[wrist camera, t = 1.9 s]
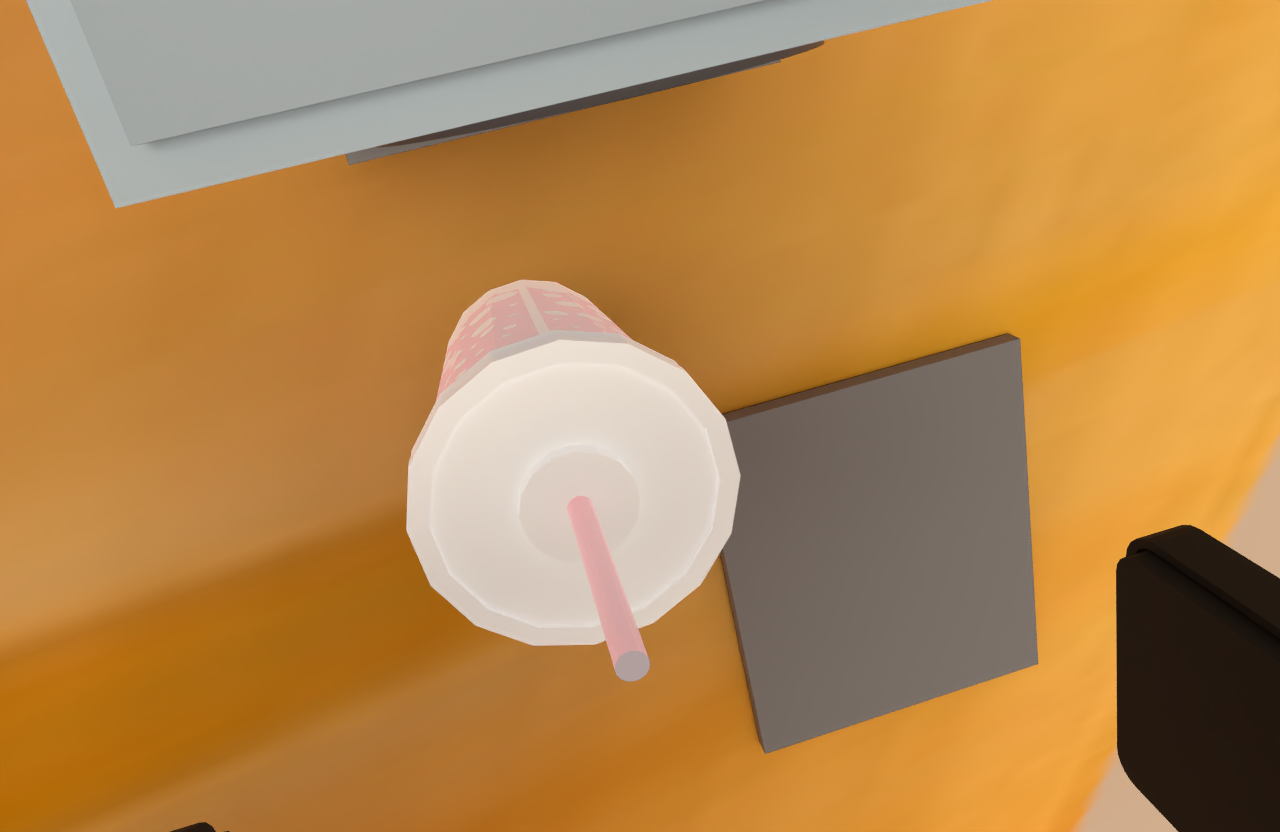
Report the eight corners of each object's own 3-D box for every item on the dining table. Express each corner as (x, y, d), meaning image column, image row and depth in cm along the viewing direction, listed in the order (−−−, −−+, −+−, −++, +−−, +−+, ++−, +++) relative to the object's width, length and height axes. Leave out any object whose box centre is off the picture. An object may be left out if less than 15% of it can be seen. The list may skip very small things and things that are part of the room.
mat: (1027, 653, 32) (1038, 663, 31) (759, 741, 31) (765, 753, 30) (1008, 333, 27) (1019, 338, 27) (693, 422, 26) (698, 430, 26)
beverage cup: (436, 482, 25) (432, 895, 12) (397, 265, 23) (343, 491, 10) (650, 448, 26) (853, 799, 13) (633, 237, 24) (854, 411, 11)
